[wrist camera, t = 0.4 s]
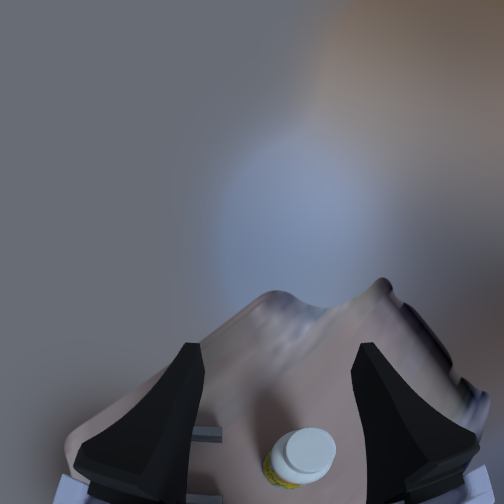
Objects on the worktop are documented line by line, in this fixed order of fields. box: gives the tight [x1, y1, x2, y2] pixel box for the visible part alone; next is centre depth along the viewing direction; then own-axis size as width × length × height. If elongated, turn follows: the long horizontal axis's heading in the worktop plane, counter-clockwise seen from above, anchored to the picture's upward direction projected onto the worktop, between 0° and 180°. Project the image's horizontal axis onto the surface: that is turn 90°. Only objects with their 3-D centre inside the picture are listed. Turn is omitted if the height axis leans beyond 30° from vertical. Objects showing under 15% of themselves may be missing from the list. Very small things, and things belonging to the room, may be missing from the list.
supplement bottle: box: [263, 427, 336, 489], centre depth 20 cm, size 5×5×10 cm
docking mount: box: [186, 426, 223, 504], centre depth 21 cm, size 9×9×4 cm
